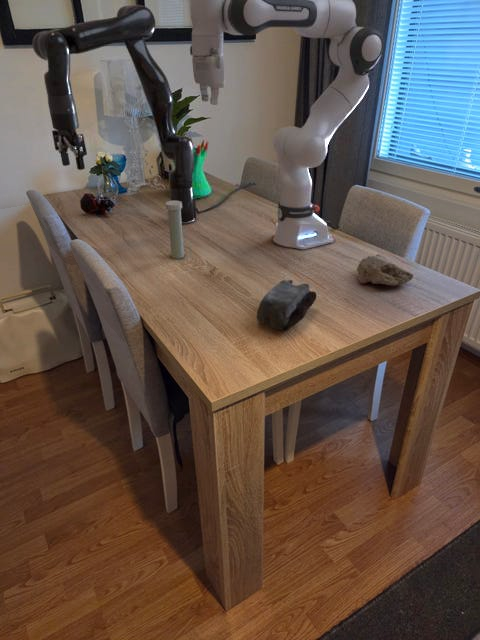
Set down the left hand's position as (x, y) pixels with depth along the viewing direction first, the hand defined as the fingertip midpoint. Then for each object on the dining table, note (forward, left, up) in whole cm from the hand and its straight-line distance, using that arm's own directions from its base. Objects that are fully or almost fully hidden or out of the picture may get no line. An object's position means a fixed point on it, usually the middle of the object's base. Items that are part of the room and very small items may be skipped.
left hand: (73, 167), depth 141 cm
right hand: (-30, +32, +18) cm, 47 cm away
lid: (-18, +25, -11) cm, 33 cm away
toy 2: (-73, -25, -29) cm, 82 cm away
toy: (-26, -33, -29) cm, 51 cm away
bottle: (-18, +25, -29) cm, 43 cm away
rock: (-10, +78, -29) cm, 84 cm away
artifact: (-48, +86, -29) cm, 103 cm away
